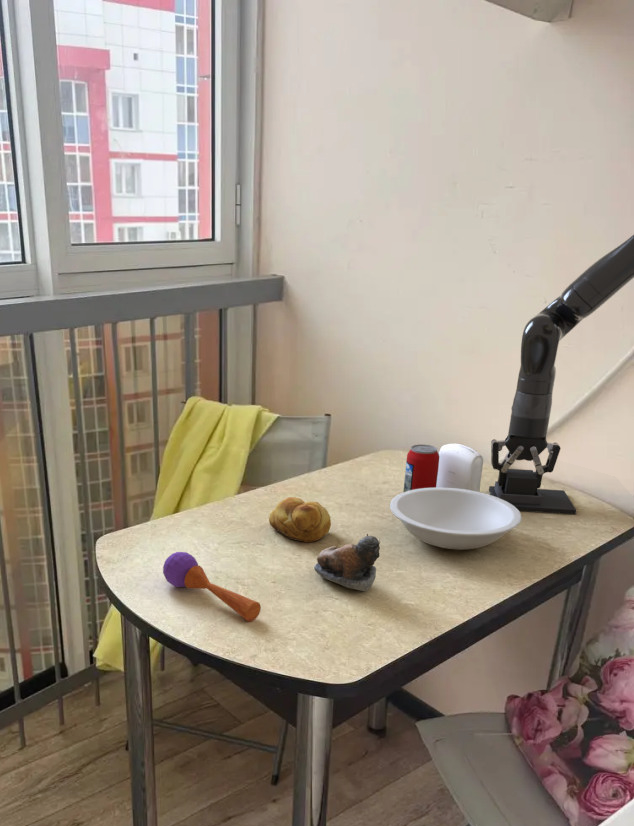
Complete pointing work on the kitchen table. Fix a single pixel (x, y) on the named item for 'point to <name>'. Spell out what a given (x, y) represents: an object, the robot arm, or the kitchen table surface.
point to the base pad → (537, 500)
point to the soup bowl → (454, 516)
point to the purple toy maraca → (205, 584)
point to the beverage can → (421, 467)
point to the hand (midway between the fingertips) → (518, 488)
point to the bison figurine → (350, 563)
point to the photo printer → (459, 467)
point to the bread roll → (300, 519)
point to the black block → (520, 482)
